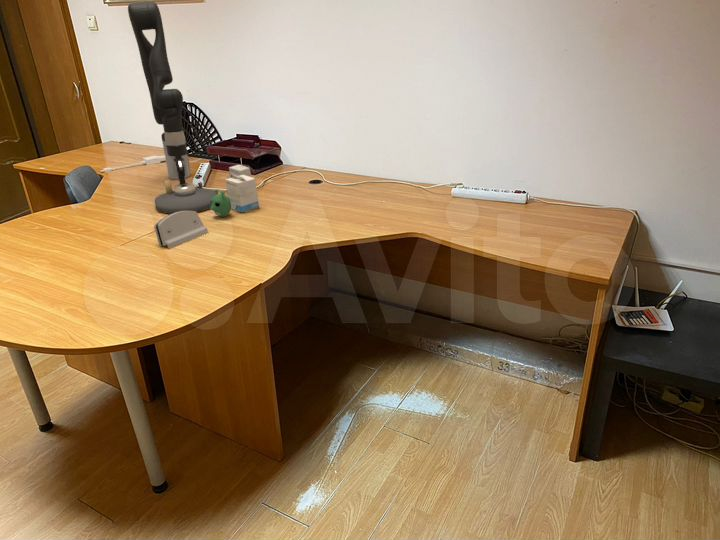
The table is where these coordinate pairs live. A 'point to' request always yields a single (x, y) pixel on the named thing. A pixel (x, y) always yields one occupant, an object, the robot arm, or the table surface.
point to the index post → (200, 185)
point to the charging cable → (145, 161)
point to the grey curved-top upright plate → (179, 228)
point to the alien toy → (220, 204)
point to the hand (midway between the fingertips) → (182, 185)
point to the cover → (184, 189)
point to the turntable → (183, 200)
